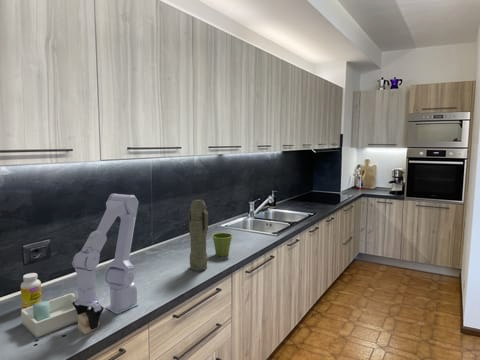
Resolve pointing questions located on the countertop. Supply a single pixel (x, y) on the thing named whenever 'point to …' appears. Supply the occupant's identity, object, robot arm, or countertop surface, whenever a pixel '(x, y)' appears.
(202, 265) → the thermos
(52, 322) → the tote
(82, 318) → the beech cube
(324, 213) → the countertop surface
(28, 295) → the supplement bottle
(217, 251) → the plant pot
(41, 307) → the teal cylinder
